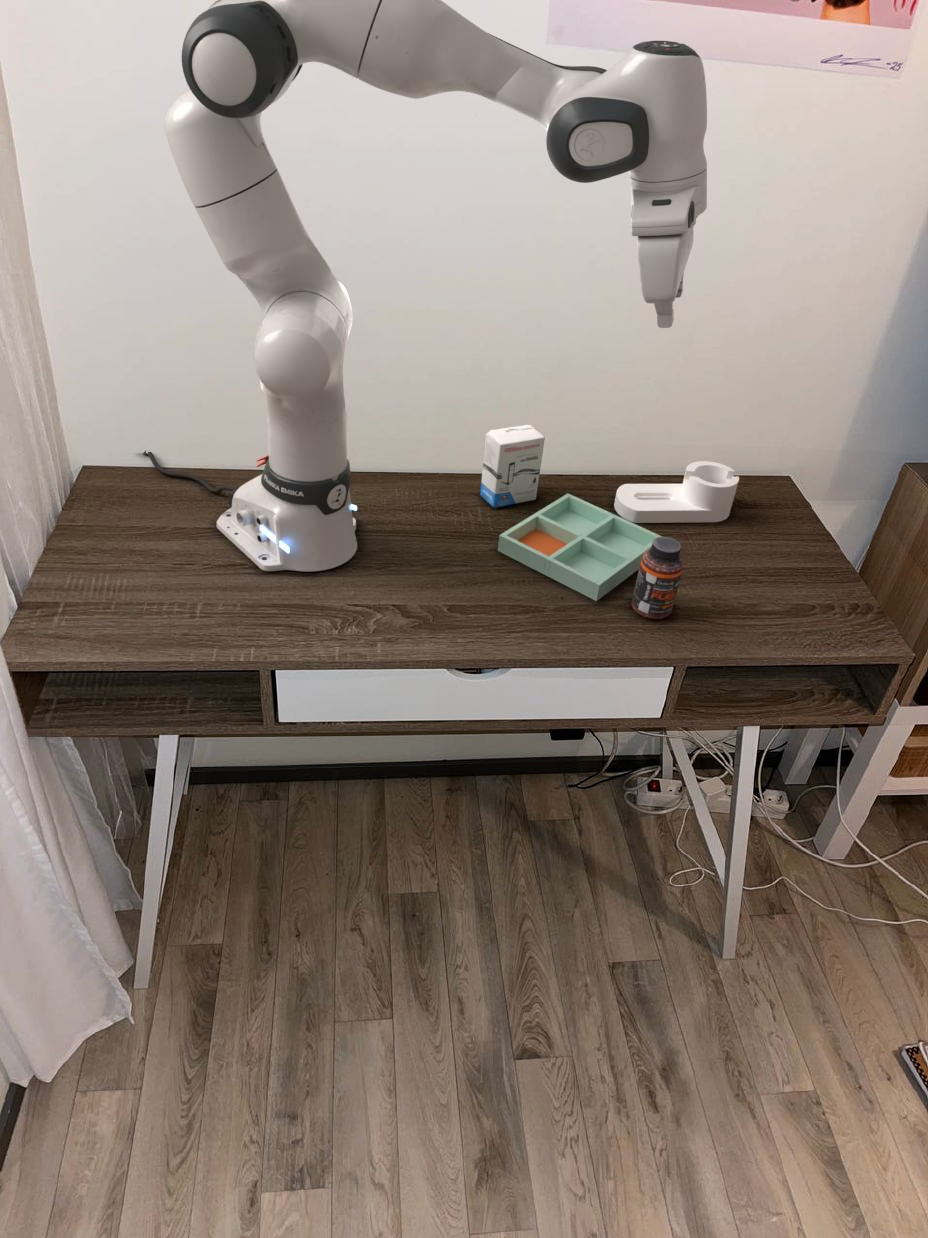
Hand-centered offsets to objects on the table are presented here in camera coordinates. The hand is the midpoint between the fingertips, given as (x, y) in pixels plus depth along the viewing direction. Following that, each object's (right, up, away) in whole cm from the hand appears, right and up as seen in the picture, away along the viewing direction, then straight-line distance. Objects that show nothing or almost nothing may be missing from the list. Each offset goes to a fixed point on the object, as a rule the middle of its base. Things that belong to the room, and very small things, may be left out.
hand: (670, 310), depth 127 cm
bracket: (+9, -20, +43) cm, 49 cm away
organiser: (-8, -28, +30) cm, 42 cm away
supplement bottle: (+1, -38, +20) cm, 42 cm away
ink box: (-19, -19, +42) cm, 50 cm away
